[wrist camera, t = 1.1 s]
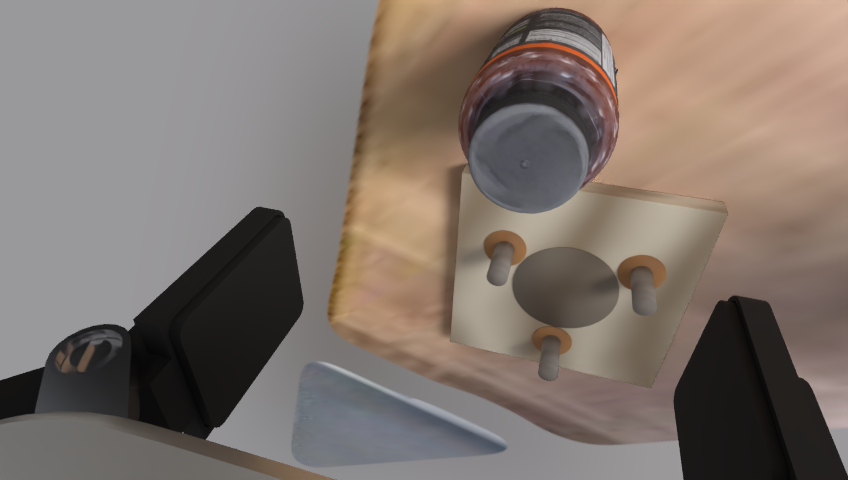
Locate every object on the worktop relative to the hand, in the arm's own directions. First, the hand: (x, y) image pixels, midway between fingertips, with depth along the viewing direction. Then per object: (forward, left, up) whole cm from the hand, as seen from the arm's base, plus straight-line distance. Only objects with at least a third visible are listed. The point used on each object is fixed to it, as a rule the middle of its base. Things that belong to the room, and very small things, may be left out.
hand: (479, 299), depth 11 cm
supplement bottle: (0, 0, -18) cm, 18 cm away
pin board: (-3, +13, -18) cm, 22 cm away
